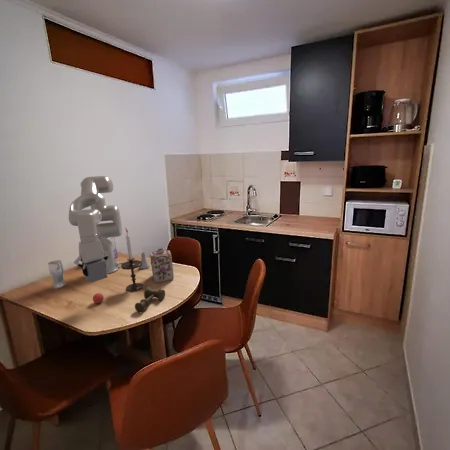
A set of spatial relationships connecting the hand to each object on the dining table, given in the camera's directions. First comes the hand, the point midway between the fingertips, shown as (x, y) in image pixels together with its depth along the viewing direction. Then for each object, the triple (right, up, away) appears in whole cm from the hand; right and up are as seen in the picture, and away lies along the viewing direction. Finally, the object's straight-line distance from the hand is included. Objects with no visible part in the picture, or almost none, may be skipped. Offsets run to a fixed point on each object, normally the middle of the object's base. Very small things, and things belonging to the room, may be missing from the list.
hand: (95, 272), depth 134 cm
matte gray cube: (0, -3, +1) cm, 3 cm away
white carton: (-22, -3, +66) cm, 69 cm away
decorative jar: (+26, -9, +31) cm, 42 cm away
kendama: (+27, -16, +3) cm, 31 cm away
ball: (0, -14, +5) cm, 14 cm away
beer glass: (-33, -13, +26) cm, 44 cm away
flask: (+10, -5, +49) cm, 50 cm away
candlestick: (+13, -12, +19) cm, 26 cm away
